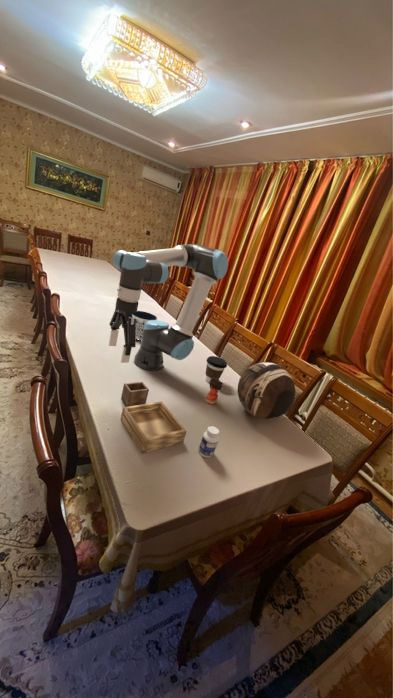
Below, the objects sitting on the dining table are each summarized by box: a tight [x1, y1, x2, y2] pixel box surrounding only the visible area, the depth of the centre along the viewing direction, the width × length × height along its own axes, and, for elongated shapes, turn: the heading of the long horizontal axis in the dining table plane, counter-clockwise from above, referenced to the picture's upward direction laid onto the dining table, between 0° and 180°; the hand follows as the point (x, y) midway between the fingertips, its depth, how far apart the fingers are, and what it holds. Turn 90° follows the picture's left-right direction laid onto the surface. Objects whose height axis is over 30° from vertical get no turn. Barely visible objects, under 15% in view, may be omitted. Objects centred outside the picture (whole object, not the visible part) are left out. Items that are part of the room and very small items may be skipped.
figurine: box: [203, 377, 223, 405], centre depth 130 cm, size 6×6×12 cm
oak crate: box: [120, 401, 187, 454], centre depth 102 cm, size 16×18×5 cm
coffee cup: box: [204, 355, 228, 384], centre depth 150 cm, size 11×11×12 cm
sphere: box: [237, 361, 296, 420], centre depth 129 cm, size 25×25×25 cm
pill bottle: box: [198, 425, 220, 458], centre depth 98 cm, size 5×5×10 cm
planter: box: [132, 310, 158, 340], centre depth 179 cm, size 16×16×14 cm
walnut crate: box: [120, 381, 150, 407], centre depth 115 cm, size 8×6×7 cm
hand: (118, 353), depth 108 cm, fingers open, 13 cm apart
